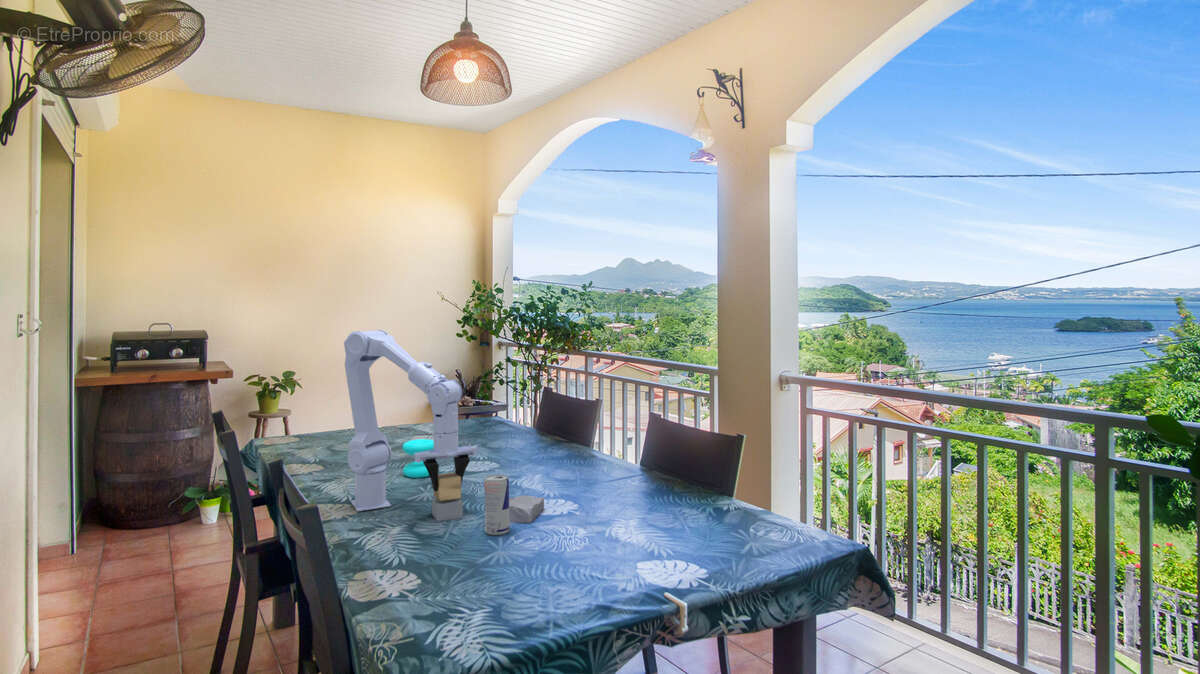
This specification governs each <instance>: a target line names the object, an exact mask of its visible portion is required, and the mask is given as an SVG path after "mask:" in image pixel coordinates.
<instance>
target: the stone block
mask: <svg viewBox="0 0 1200 674" xmlns="http://www.w3.org/2000/svg"><path fill="white" fill-rule="evenodd" d="M544 509H545V499H544V496H542V497H539V496H538V497H537V496H532V495H519V496H514V497H509V521H510V524H512V523H514V524H515V523H517V524H531V523H532V522H534V520H535V519H536V518H537V517H538V516H539V515H540V514H541V513H542V512H543V511H544Z"/></svg>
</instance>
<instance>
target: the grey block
mask: <svg viewBox="0 0 1200 674" xmlns="http://www.w3.org/2000/svg"><path fill="white" fill-rule="evenodd" d="M463 505H464V501H463V500H462V498H457V499H450V500H443V501H440V500H438V499H437V498H436V497H432V498H431V515H432V516H433V517H434V519H435V520H436V522H441V521H447V520H455V519H460V518H464V506H463Z"/></svg>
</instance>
